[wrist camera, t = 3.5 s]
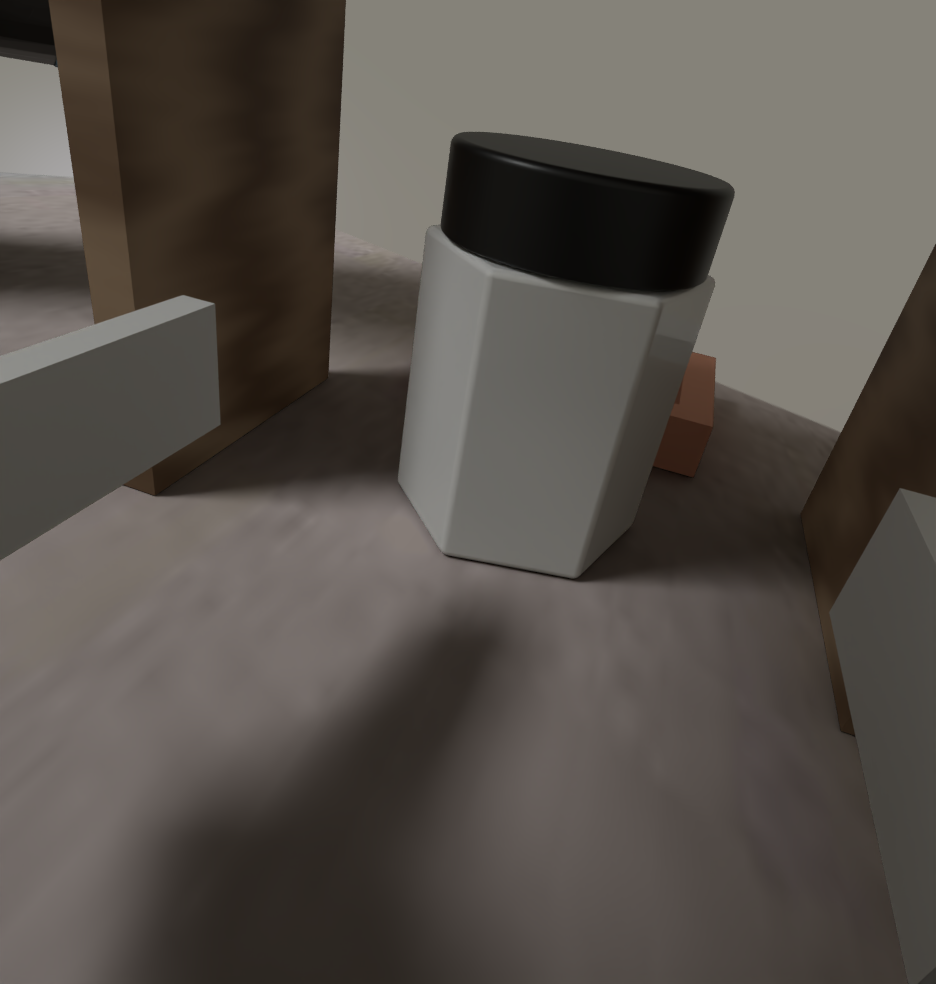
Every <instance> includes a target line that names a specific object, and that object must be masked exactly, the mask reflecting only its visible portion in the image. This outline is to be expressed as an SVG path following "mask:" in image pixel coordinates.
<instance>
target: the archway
mask: <svg viewBox="0 0 936 984" xmlns="http://www.w3.org/2000/svg"><path fill="white" fill-rule="evenodd" d="M49 7H50V14H51V21H52V28H53V35H54V42H55V49H56V56H57V63H58V70H59V77H60V84H61V91H62V98H63V105H64V112H65V119H66V126H67V133H68V140H69V147H70V154H71V161H72V168H73V175H74V182H75V189H76V196H77V203H78V210H79V217H80V224H81V231H82V238H83V245H84V252H85V259H86V266H87V273H88V280H89V287H90V294H91V301H92V308H93V315H94V322H95V324H97V323H100V322H103V321H106V320H109V319H112V318H115V317H118V316H121V315H124V314H127V313H130V312H133V311H136V310H139V309H142V308H145V307H148V306H151V305H154V304H157V303H160V302H163V301H166V300H169V299H172V298H175V297H178V296H181V295H185V296H188V297H192V298H196V299H200V300H203V301H207V302H211V303H214V304H215V313H216V335H217V357H218V380H219V402H220V424H221V425H219V426H217V427H216V428H214V429H213V430H211V431H209V432H208V433H206V434H204V435H203V436H201V437H200V438H198V439H196V440H195V441H193V442H192V443H190V444H188V445H187V446H185V447H183V448H182V449H180V450H179V451H177V452H175V453H174V454H172V455H170V456H169V457H167V458H166V459H164V460H162V461H161V462H159V463H157V464H156V465H154V466H153V467H151V468H149V469H148V470H146V471H144V472H143V473H141V474H140V475H138V476H136V477H135V478H133V479H132V480H130V481H128V482H127V483H125V484H123V485H125V486H128V487H131V488H134V489H137V490H140V491H143V492H146V493H149V494H152V495H157V494H158V493H160V492H161V491H163V490H164V489H166V488H167V487H169V486H170V485H171V484H173V483H174V482H176V481H177V480H179V479H180V478H182V477H183V476H185V475H186V474H188V473H189V472H191V471H192V470H194V469H195V468H196V467H198V466H199V465H201V464H202V463H204V462H205V461H207V460H208V459H210V458H211V457H213V456H214V455H216V454H217V453H219V452H220V451H221V450H223V449H224V448H226V447H227V446H229V445H230V444H232V443H233V442H235V441H236V440H238V439H239V438H241V437H242V436H243V435H245V434H246V433H248V432H249V431H251V430H252V429H254V428H255V427H257V426H258V425H260V424H261V423H263V422H264V421H266V420H267V419H268V418H270V417H271V416H273V415H274V414H276V413H277V412H279V411H280V410H282V409H283V408H285V407H286V406H288V405H289V404H290V403H292V402H293V401H295V400H296V399H298V398H299V397H301V396H302V395H304V394H305V393H307V392H308V391H310V390H311V389H313V388H314V387H315V386H317V385H318V384H320V383H321V382H323V381H324V380H326V379H327V378H328V371H329V350H330V329H331V307H332V286H333V264H334V243H335V221H336V200H337V199H336V198H337V179H338V157H339V136H340V134H339V133H340V114H341V113H340V112H341V92H342V71H343V49H344V28H345V7H346V0H49ZM900 488H901V489H905V490H909V491H913V492H916V493H920V494H924V495H927V496H931V497H935V498H936V244H935V247H934V249H933V250H932V253H931V254H930V256H929V258H928V260H927V262H926V264H925V266H924V268H923V270H922V272H921V275H920V276H919V278H918V280H917V282H916V284H915V286H914V288H913V290H912V292H911V294H910V296H909V299H908V300H907V302H906V304H905V306H904V308H903V310H902V312H901V314H900V316H899V318H898V320H897V322H896V325H895V326H894V328H893V330H892V332H891V334H890V336H889V338H888V340H887V342H886V344H885V346H884V348H883V350H882V352H881V354H880V356H879V358H878V360H877V362H876V364H875V366H874V368H873V370H872V372H871V374H870V376H869V378H868V380H867V382H866V384H865V386H864V388H863V390H862V392H861V394H860V396H859V398H858V400H857V402H856V404H855V406H854V408H853V410H852V412H851V414H850V416H849V418H848V420H847V422H846V424H845V426H844V428H843V430H842V432H841V434H840V436H839V438H838V440H837V442H836V444H835V446H834V448H833V450H832V452H831V454H830V456H829V458H828V460H827V462H826V464H825V466H824V468H823V470H822V472H821V474H820V476H819V478H818V480H817V482H816V484H815V486H814V488H813V490H812V492H811V494H810V496H809V498H808V500H807V502H806V504H805V506H804V508H803V510H802V512H801V519H802V524H803V529H804V535H805V540H806V546H807V551H808V556H809V562H810V567H811V573H812V578H813V584H814V589H815V594H816V600H817V605H818V611H819V616H820V621H821V627H822V632H823V638H824V643H825V648H826V654H827V659H828V665H829V670H830V676H831V681H832V686H833V692H834V697H835V703H836V708H837V713H838V719H839V724H840V730H841V731H843V732H846V733H849V734H852V735H854V736H855V731H854V727H853V722H852V717H851V713H850V708H849V703H848V698H847V694H846V689H845V684H844V680H843V675H842V670H841V666H840V661H839V656H838V651H837V647H836V642H835V637H834V633H833V628H832V623H831V618H830V614H829V612H830V610H831V608H832V606H833V605H834V603H835V601H836V599H837V598H838V596H839V594H840V592H841V591H842V589H843V587H844V585H845V584H846V582H847V580H848V578H849V577H850V575H851V573H852V571H853V570H854V568H855V566H856V564H857V562H858V561H859V559H860V557H861V555H862V554H863V552H864V550H865V548H866V547H867V545H868V543H869V541H870V540H871V538H872V536H873V534H874V533H875V531H876V529H877V527H878V526H879V524H880V522H881V520H882V519H883V517H884V515H885V513H886V512H887V510H888V508H889V506H890V505H891V503H892V501H893V499H894V497H895V496H896V494H897V492H898V490H899V489H900Z"/></svg>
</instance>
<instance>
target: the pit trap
mask: <svg viewBox="0 0 936 984" xmlns="http://www.w3.org/2000/svg"><path fill="white" fill-rule="evenodd" d="M715 365H716V358H714V357H710V356H706V355H702V354H698V353H694V352H692V354H691V356H690V359H689V362H688V365H687V368H686V371H685V374H684V377H683V380H682V383H681V385H680V388H679V391H678V394H677V397H676V400H675V403H674V406H673V409H672V412H671V414H670V417H669V420H668V423H667V426H666V429H665V432H664V435H663V438H662V441H661V443H660V446H659V449H658V452H657V455H656V458H655V461H654V464H653V466H655V467H658V468H662V469H665V470H669V471H672V472H676V473H679V474H682V475H686V476H689V477H693V478H694V475H695V473H696V470H697V467H698V465H699V462H700V460H701V457H702V455H703V452H704V449H705V447H706V444H707V442H708V439H709V436H710V434H711V431H712V429H713V417H714V391H715Z"/></svg>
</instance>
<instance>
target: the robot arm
mask: <svg viewBox="0 0 936 984" xmlns="http://www.w3.org/2000/svg"><path fill="white" fill-rule="evenodd" d="M0 56H3V57H8V58H14V59H20V60H26V61H32V62H38V63H44V64H50V65H54V66H55V67H58V63H57V56H56V49H55V42H54V35H53V28H52V21H51V14H50V7H49V0H0ZM219 425H221V424H220V402H219V380H218V357H217V335H216V313H215V304H214V303H211V302H207V301H203V300H200V299H196V298H192V297H188V296H185V295H181V296H178V297H175V298H172V299H169V300H166V301H163V302H160V303H157V304H154V305H151V306H148V307H145V308H142V309H139V310H136V311H133V312H130V313H127V314H124V315H121V316H118V317H115V318H112V319H109V320H106V321H103V322H100V323H97V324H94V325H91V326H88V327H85V328H82V329H80V330H77V331H74V332H71V333H68V334H65V335H62V336H59V337H56V338H53V339H50V340H47V341H44V342H41V343H38V344H35V345H32V346H29V347H26V348H23V349H20V350H17V351H14V352H11V353H8V354H5V355H2V356H0V560H2V559H3V558H5V557H7V556H8V555H10V554H12V553H13V552H15V551H16V550H18V549H20V548H21V547H23V546H25V545H26V544H28V543H29V542H31V541H33V540H34V539H36V538H38V537H39V536H41V535H42V534H44V533H46V532H47V531H49V530H50V529H52V528H54V527H55V526H57V525H59V524H60V523H62V522H63V521H65V520H67V519H68V518H70V517H72V516H73V515H75V514H76V513H78V512H80V511H81V510H83V509H85V508H86V507H88V506H89V505H91V504H93V503H94V502H96V501H97V500H99V499H101V498H102V497H104V496H106V495H107V494H109V493H110V492H112V491H114V490H115V489H117V488H119V487H120V486H122V485H123V484H125V483H127V482H128V481H130V480H132V479H133V478H135V477H136V476H138V475H140V474H141V473H143V472H144V471H146V470H148V469H149V468H151V467H153V466H154V465H156V464H157V463H159V462H161V461H162V460H164V459H166V458H167V457H169V456H170V455H172V454H174V453H175V452H177V451H179V450H180V449H182V448H183V447H185V446H187V445H188V444H190V443H192V442H193V441H195V440H196V439H198V438H200V437H201V436H203V435H204V434H206V433H208V432H209V431H211V430H213V429H214V428H216V427H217V426H219ZM829 614H830V618H831V623H832V628H833V633H834V637H835V642H836V647H837V651H838V656H839V661H840V666H841V670H842V675H843V680H844V684H845V689H846V694H847V698H848V703H849V708H850V713H851V717H852V722H853V727H854V731H855V736H856V741H857V746H858V750H859V755H860V760H861V764H862V769H863V774H864V779H865V783H866V788H867V793H868V797H869V802H870V807H871V812H872V816H873V821H874V826H875V830H876V835H877V840H878V845H879V849H880V854H881V859H882V863H883V868H884V873H885V877H886V882H887V887H888V892H889V896H890V901H891V906H892V910H893V915H894V920H895V925H896V929H897V934H898V939H899V943H900V948H901V953H902V958H903V962H904V967H905V972H906V976H907V981H908V984H936V498H935V497H931V496H927V495H924V494H920V493H916V492H913V491H909V490H905V489H901V488H900V489H899V490H898V492H897V494H896V496H895V497H894V499H893V501H892V503H891V505H890V506H889V508H888V510H887V512H886V513H885V515H884V517H883V519H882V520H881V522H880V524H879V526H878V527H877V529H876V531H875V533H874V534H873V536H872V538H871V540H870V541H869V543H868V545H867V547H866V548H865V550H864V552H863V554H862V555H861V557H860V559H859V561H858V562H857V564H856V566H855V568H854V570H853V571H852V573H851V575H850V577H849V578H848V580H847V582H846V584H845V585H844V587H843V589H842V591H841V592H840V594H839V596H838V598H837V599H836V601H835V603H834V605H833V606H832V608H831V610H830V612H829Z"/></svg>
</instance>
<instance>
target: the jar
mask: <svg viewBox="0 0 936 984" xmlns="http://www.w3.org/2000/svg"><path fill="white" fill-rule="evenodd" d="M734 193H735V192H734V188H733V187H732V186H731V185H730V184H729V183H727V182H725V181H723V180H721V179H718V178H716V177H713V176H711V175H708V174H704V173H701V172H698V171H695V170H691V169H688V168H684V167H680V166H677V165H673V164H669V163H665V162H661V161H656V160H652V159H647V158H643V157H639V156H635V155H630V154H625V153H620V152H615V151H610V150H605V149H600V148H595V147H590V146H584V145H579V144H573V143H566V142H561V141H555V140H548V139H542V138H534V137H527V136H520V135H511V134H502V133H490V132H463V133H459V134H457V135H455V136H454V137H453V139H452V141H451V147H450V154H449V162H448V170H447V178H446V186H445V194H444V202H443V210H442V218H441V225H433V226H430V227H429V228H428V229H427V231H426V236H425V245H424V254H423V262H422V271H421V280H420V289H419V298H418V306H417V315H416V324H415V332H414V341H413V350H412V358H411V367H410V376H409V385H408V393H407V402H406V411H405V419H404V428H403V437H402V445H401V454H400V463H399V471H398V483H399V485H400V486H401V488H402V489H403V491H404V493H405V494H406V496H407V497H408V499H409V501H410V502H411V504H412V505H413V507H414V509H415V510H416V512H417V513H418V515H419V517H420V518H421V520H422V522H423V523H424V525H425V526H426V528H427V530H428V531H429V533H430V535H431V536H432V538H433V540H434V541H435V543H436V544H437V546H438V548H439V549H440V551H441V552H442V553H443V554H445V555H449V556H455V557H460V558H465V559H471V560H476V561H481V562H487V563H492V564H497V565H503V566H508V567H513V568H519V569H524V570H529V571H535V572H540V573H545V574H551V575H556V576H562V577H567V578H577V577H579V576H580V575H581V574H582V573H583V572H584V571H585V570H586V569H587V568H588V567H589V566H590V565H591V564H592V563H593V562H594V561H596V560H597V559H598V558H599V557H600V556H601V555H602V554H603V553H604V552H605V551H606V550H607V549H608V548H609V547H610V546H611V545H612V544H613V543H614V542H615V541H616V540H617V539H618V538H619V537H620V536H621V535H622V534H623V533H624V532H625V531H626V530H627V529H628V528H629V527H631V525H632V524H633V522H634V519H635V516H636V513H637V510H638V507H639V504H640V501H641V499H642V496H643V493H644V490H645V487H646V484H647V481H648V478H649V475H650V472H651V470H652V467H653V464H654V461H655V458H656V455H657V452H658V449H659V446H660V443H661V441H662V438H663V435H664V432H665V429H666V426H667V423H668V420H669V417H670V414H671V412H672V409H673V406H674V403H675V400H676V397H677V394H678V391H679V388H680V385H681V383H682V380H683V377H684V374H685V371H686V368H687V365H688V362H689V359H690V356H691V354H692V350H693V348H694V345H695V342H696V339H697V336H698V333H699V330H700V327H701V325H702V321H703V319H704V316H705V313H706V310H707V307H708V304H709V301H710V298H711V296H712V293H713V290H714V287H715V281H714V279H713V278H712V277H711V276H709V275H708V273H709V270H710V267H711V264H712V261H713V258H714V255H715V252H716V249H717V246H718V243H719V240H720V237H721V234H722V231H723V228H724V225H725V222H726V220H727V217H728V214H729V211H730V207H731V205H732V201H733V198H734Z"/></svg>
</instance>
